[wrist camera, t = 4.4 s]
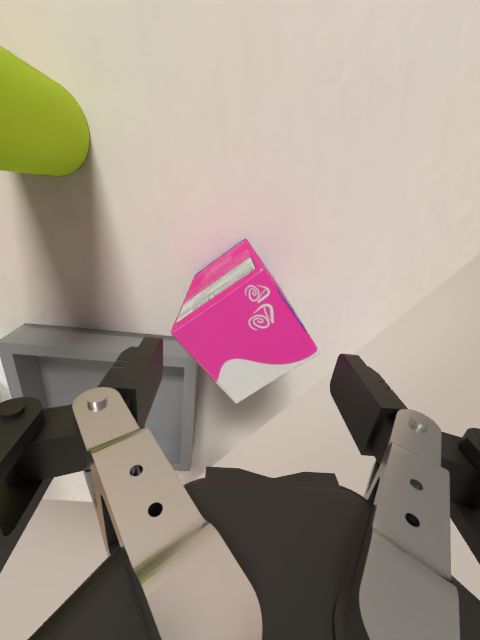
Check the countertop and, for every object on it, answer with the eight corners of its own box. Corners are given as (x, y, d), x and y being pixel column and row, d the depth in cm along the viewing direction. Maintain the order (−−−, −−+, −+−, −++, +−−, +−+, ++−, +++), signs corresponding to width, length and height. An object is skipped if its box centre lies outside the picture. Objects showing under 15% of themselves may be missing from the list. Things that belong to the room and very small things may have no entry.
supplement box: (284, 289, 25) (323, 357, 14) (230, 324, 26) (231, 410, 16) (248, 234, 23) (263, 268, 12) (191, 275, 24) (162, 337, 14)
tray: (50, 435, 31) (29, 463, 28) (25, 323, 25) (-4, 342, 22) (193, 443, 32) (189, 470, 29) (200, 338, 27) (196, 358, 23)
